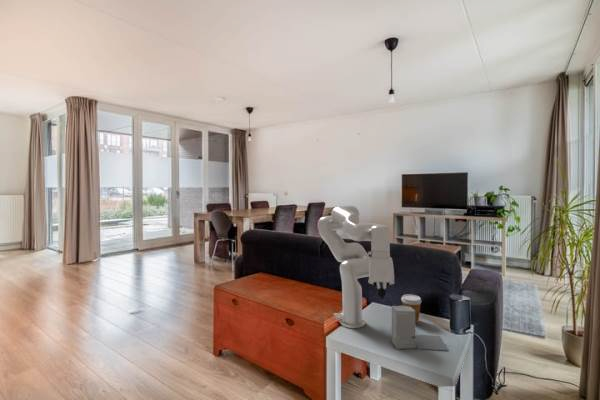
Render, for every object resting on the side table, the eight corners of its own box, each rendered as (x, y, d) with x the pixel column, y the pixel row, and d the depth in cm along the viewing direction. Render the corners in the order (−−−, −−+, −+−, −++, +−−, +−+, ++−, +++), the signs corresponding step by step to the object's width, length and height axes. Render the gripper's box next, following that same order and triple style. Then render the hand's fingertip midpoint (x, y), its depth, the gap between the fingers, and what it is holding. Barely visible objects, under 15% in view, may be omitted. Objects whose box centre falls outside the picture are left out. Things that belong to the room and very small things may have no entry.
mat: (417, 349, 124) (417, 348, 124) (411, 335, 136) (411, 334, 136) (448, 351, 123) (448, 350, 122) (439, 336, 134) (439, 335, 134)
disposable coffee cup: (418, 317, 155) (418, 294, 154) (424, 325, 145) (424, 301, 145) (399, 316, 156) (399, 293, 155) (403, 325, 146) (403, 300, 146)
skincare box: (396, 349, 125) (395, 311, 124) (390, 341, 132) (390, 305, 131) (416, 348, 125) (416, 311, 124) (410, 340, 132) (409, 304, 131)
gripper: (362, 256, 125) (364, 300, 126) (400, 256, 123) (401, 301, 124) (362, 252, 133) (363, 294, 133) (397, 252, 131) (398, 294, 131)
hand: (381, 297), depth 128 cm, fingers closed
